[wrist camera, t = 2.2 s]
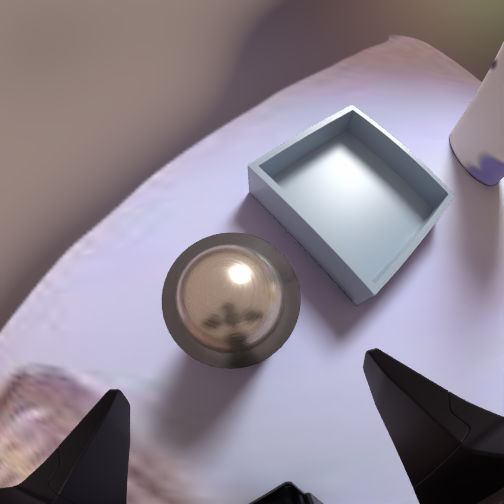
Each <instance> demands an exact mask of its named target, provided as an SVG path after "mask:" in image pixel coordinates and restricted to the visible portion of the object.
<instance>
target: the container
mask: <svg viewBox="0 0 504 504" xmlns="http://www.w3.org/2000/svg"><path fill="white" fill-rule="evenodd" d="M450 143H451V146H452V149H453V151H454V153H455V155H456V156H457V158H458V160H459V161H460V162H461V164H462V165H463V166H464V167H465V168H466V170H467V171H468V172H469V173H470V174H471V175H473V176H474V177H475V178H476V179H478V180H479V181H481V182H482V183H484V184H487V185H496V184H497V183H498V182H499V181H500V180H501V179H502V178H503V177H504V42H503V44H502V46H501V48H500V50H499V52H498V54H497V56H496V58H495V60H494V62H493V64H492V67H491V68H490V70H489V71H488V73H487V75H486V77H485V79H484V80H483V82H482V84H481V86H480V87H479V89H478V91H477V92H476V94H475V96H474V97H473V99H472V101H471V102H470V104H469V106H468V107H467V109H466V110H465V112H464V114H463V115H462V117H461V118H460V120H459V121H458V123H457V125H456V126H455V128H454V129H453V131H452V132H451V134H450Z"/></svg>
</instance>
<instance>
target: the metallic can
mask: <svg viewBox="0 0 504 504" xmlns="http://www.w3.org/2000/svg"><path fill="white" fill-rule="evenodd" d="M162 311H163V317H164V320H165V323H166V326H167V328H168V330H169V333H170V334H171V336H172V337H173V339H174V341H175V342H176V343H177V344H178V345H179V347H180V348H181V349H183V350H184V351H185V352H186V353H187V354H188V355H190V356H191V357H193V358H194V359H196V360H198V361H200V362H202V363H204V364H207V365H210V366H214V367H219V368H229V369H232V368H242V367H247V366H251V365H254V364H256V363H259V362H261V361H263V360H265V359H267V358H268V357H270V356H271V355H272V354H274V353H275V352H276V351H277V350H278V349H280V348H281V347H282V346H283V344H284V343H285V342H286V341H287V339H288V338H289V336H290V335H291V333H292V331H293V329H294V327H295V325H296V322H297V319H298V315H299V311H300V289H299V284H298V280H297V277H296V275H295V272H294V270H293V268H292V267H291V265H290V263H289V262H288V260H287V259H286V258H285V257H284V255H283V254H282V253H281V252H280V251H279V250H277V249H276V248H275V247H274V246H272V245H271V244H270V243H268V242H266V241H264V240H262V239H260V238H257V237H255V236H252V235H248V234H242V233H221V234H216V235H212V236H209V237H206V238H204V239H202V240H200V241H198V242H196V243H194V244H193V245H191V246H190V247H188V248H187V249H186V250H185V251H184V252H183V253H182V254H181V255H180V256H179V257H178V258H177V259H176V261H175V262H174V264H173V265H172V267H171V268H170V270H169V272H168V274H167V277H166V279H165V282H164V287H163V292H162Z"/></svg>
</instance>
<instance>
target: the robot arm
mask: <svg viewBox="0 0 504 504" xmlns="http://www.w3.org/2000/svg"><path fill="white" fill-rule="evenodd" d="M363 370H364V373H365V376H366V379H367V382H368V385H369V387H370V390H371V393H372V396H373V399H374V402H375V405H376V407H377V409H378V411H379V413H380V416H381V418H382V420H383V422H384V424H385V426H386V428H387V430H388V432H389V435H390V437H391V439H392V441H393V443H394V445H395V448H396V450H397V452H398V454H399V456H400V459H401V461H402V463H403V465H404V468H405V470H406V472H407V475H408V477H409V479H410V482H411V484H412V486H413V489H414V491H415V494H416V496H417V498H418V501H419V503H420V504H504V417H503V416H500V415H497V414H495V413H492V412H490V411H488V410H485V409H483V408H481V407H478V406H476V405H474V404H472V403H470V402H467V401H465V400H464V399H462V398H460V397H458V396H456V395H455V394H453V393H451V392H448V390H446V389H444V388H443V387H441V386H439V385H438V384H436V383H434V382H432V381H431V380H429V379H427V378H426V377H424V376H422V375H421V374H419V373H417V372H416V371H414V370H412V369H411V368H409V367H407V366H406V365H404V364H402V363H401V362H399V361H397V360H396V359H394V358H393V357H391V356H389V355H388V354H386V353H384V352H383V351H381V350H379V349H377V348H374V349H371V350H368V351H367V352H366V354H365V359H364V364H363ZM129 449H130V404H129V402H128V400H127V399H126V397H125V396H124V395H123V393H122V392H121V391H120V390H119V389H110V390H109V391H108V392H107V393H106V394H105V395H104V396H103V397H102V398H101V399H100V400H99V401H98V403H97V404H96V405H95V406H94V407H93V408H92V409H91V410H90V412H89V413H88V414H87V415H86V416H85V417H84V418H83V419H82V420H81V422H80V423H79V424H78V425H77V426H76V427H75V428H74V429H73V431H72V432H71V433H70V434H69V435H68V436H67V437H66V438H65V440H64V441H63V442H62V443H61V444H60V445H59V446H58V448H57V449H56V450H55V451H54V452H53V453H52V454H51V455H50V456H49V457H48V458H47V460H46V461H45V462H44V463H43V464H42V465H40V466H39V467H38V468H37V469H36V470H35V471H34V472H33V473H32V474H31V475H30V476H29V477H27V478H26V479H25V480H24V481H23V482H22V483H20V484H19V485H16V486H13V487H6V488H0V504H126V497H127V475H128V461H129ZM286 486H291V487H290V488H285V487H286ZM249 504H323V503H322V502H321V501H319V500H318V499H317V498H316V497H314V496H313V495H312V494H311V493H304V492H302V491H301V490H300V489H299V488H298V487H297V486H295V485H294V484H293V483H292V482H285V483H283V484H281V485H280V486H278V487H277V488H275V489H273V490H272V491H270V492H268V493H267V494H265V495H263V496H262V497H260V498H258V499H257V500H255V501H253V502H251V503H249Z"/></svg>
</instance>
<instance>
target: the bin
mask: <svg viewBox="0 0 504 504" xmlns="http://www.w3.org/2000/svg"><path fill="white" fill-rule="evenodd" d="M248 179H249V192H250V193H251V194H252V195H253V196H254V197H255V198H256V199H257V200H258V201H259V202H260V203H261V204H262V205H263V206H264V207H265V208H266V209H267V210H268V211H269V212H270V213H271V214H272V215H273V216H274V217H275V218H276V219H277V221H278V222H279V223H280V224H281V225H282V226H283V227H284V228H285V229H286V230H287V231H288V232H289V233H290V234H291V235H292V236H293V237H294V238H295V239H296V240H297V241H298V242H299V243H300V245H301V246H302V247H303V248H304V249H305V250H306V251H307V252H308V253H309V254H310V255H311V256H312V257H313V258H314V259H315V261H316V262H317V263H318V264H319V265H320V266H321V267H322V268H323V269H324V270H325V271H326V272H327V273H328V275H329V276H330V277H331V278H332V279H333V280H334V281H335V282H336V283H337V284H338V286H339V287H340V288H341V289H342V290H343V291H344V292H345V293H346V294H347V296H348V297H349V298H350V299H351V300H352V301H353V302H354V303H355V305H356V306H357V305H359V304H361V303H362V302H364V301H366V300H368V299H369V298H371V297H373V296H375V295H376V294H377V293H378V291H379V290H380V289H381V288H382V287H383V286H384V285H385V284H386V283H387V282H388V280H389V279H390V278H391V277H392V276H393V275H394V274H395V272H396V271H397V270H398V269H399V268H400V267H401V265H402V264H403V263H404V262H405V261H406V260H407V258H408V257H409V256H410V255H411V253H412V252H413V251H414V250H415V249H416V247H417V246H418V245H419V244H420V242H421V241H422V240H423V238H424V237H425V236H426V235H427V233H428V232H429V231H430V229H431V228H432V227H433V225H434V224H435V223H436V221H437V220H438V219H439V217H440V216H441V215H442V213H443V212H444V210H445V209H446V208H447V206H448V205H449V203H450V202H451V200H452V199H453V198H454V196H455V195H454V194H453V193H452V192H451V191H450V190H449V189H448V188H447V187H446V186H445V185H444V183H443V182H442V181H441V180H440V179H439V178H438V177H437V176H436V175H435V174H434V173H433V172H432V171H431V170H430V169H429V168H428V167H427V166H426V165H424V164H423V163H422V162H421V161H420V160H419V159H418V158H417V157H416V156H415V155H414V154H413V153H412V152H410V151H409V150H408V149H407V148H406V147H405V146H404V145H402V144H401V143H400V142H399V141H398V140H397V139H395V138H394V137H393V136H392V135H391V134H389V133H388V132H387V131H386V130H384V129H383V128H382V127H381V126H379V125H378V124H377V123H376V122H374V121H373V120H372V119H370V118H369V117H368V116H366V115H365V114H364V113H362V112H361V111H360V110H358V109H357V108H355V107H354V106H353V105H351V106H349V107H347V108H345V109H343V110H341V111H339V112H337V113H336V114H334V115H332V116H330V117H328V118H326V119H325V120H323V121H321V122H319V123H317V124H316V125H314V126H312V127H310V128H309V129H307V130H305V131H303V132H302V133H300V134H298V135H296V136H295V137H293V138H291V139H290V140H288V141H286V142H285V143H283V144H281V145H280V146H278V147H276V148H275V149H273V150H271V151H270V152H268V153H267V154H265V155H263V156H262V157H260V158H258V159H257V160H255V161H254V162H252V163H251V164H249V165H248Z"/></svg>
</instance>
